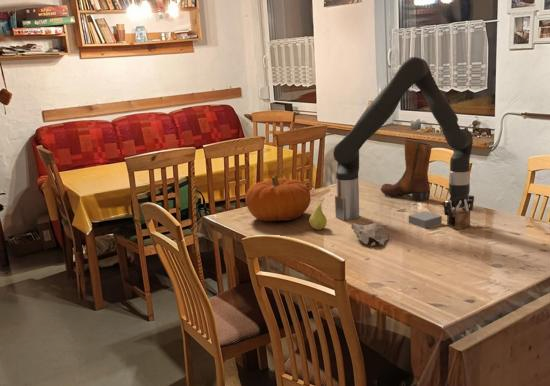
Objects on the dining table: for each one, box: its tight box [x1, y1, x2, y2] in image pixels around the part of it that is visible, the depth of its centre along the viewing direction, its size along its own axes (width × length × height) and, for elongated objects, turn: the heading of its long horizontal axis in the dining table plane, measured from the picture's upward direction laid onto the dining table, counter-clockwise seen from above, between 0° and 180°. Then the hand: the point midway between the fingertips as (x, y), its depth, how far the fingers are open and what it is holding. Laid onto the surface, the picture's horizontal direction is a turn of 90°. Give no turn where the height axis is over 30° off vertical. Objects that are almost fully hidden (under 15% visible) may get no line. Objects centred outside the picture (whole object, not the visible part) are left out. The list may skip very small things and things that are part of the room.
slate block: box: [408, 210, 443, 229], centre depth 221 cm, size 9×9×4 cm
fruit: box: [308, 198, 328, 231], centre depth 222 cm, size 7×8×12 cm
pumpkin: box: [244, 173, 312, 222], centre depth 238 cm, size 28×28×20 cm
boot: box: [380, 139, 433, 202], centre depth 256 cm, size 25×9×27 cm, turn 39°
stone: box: [351, 221, 389, 248], centre depth 207 cm, size 15×8×15 cm
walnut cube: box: [446, 208, 471, 230], centre depth 215 cm, size 6×6×6 cm
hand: (458, 223), depth 215 cm, fingers closed on walnut cube, 6 cm apart
